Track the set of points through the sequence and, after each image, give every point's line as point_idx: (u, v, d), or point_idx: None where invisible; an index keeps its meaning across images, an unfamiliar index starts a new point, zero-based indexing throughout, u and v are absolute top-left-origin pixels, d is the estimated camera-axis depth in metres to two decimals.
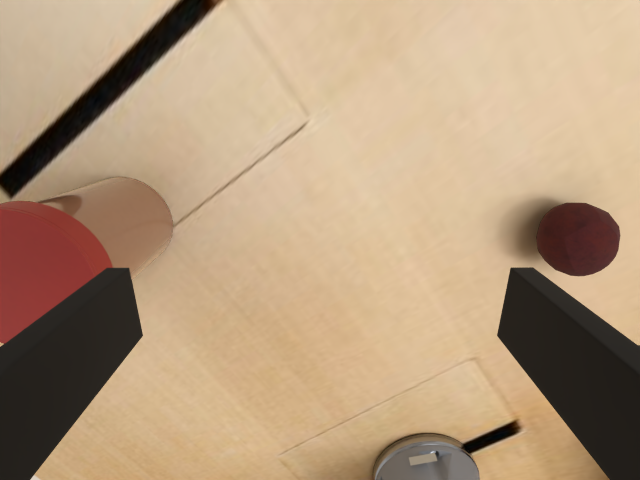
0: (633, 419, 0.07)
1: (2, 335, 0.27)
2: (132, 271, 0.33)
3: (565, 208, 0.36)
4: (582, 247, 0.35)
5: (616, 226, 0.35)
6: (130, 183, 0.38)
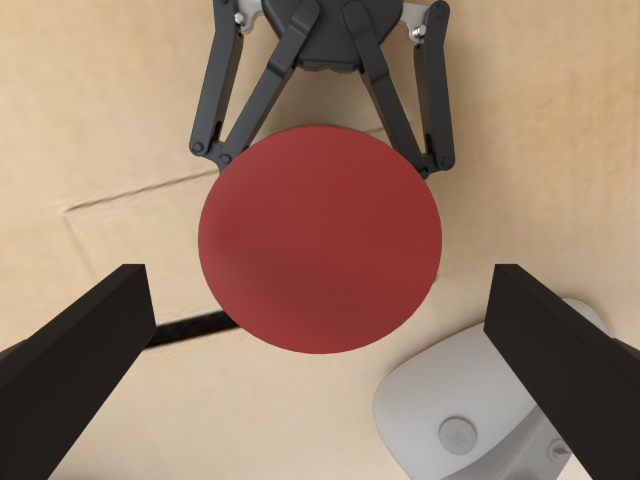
0: (603, 407, 0.08)
1: (409, 188, 0.16)
2: None
3: None
4: None
5: None
6: None
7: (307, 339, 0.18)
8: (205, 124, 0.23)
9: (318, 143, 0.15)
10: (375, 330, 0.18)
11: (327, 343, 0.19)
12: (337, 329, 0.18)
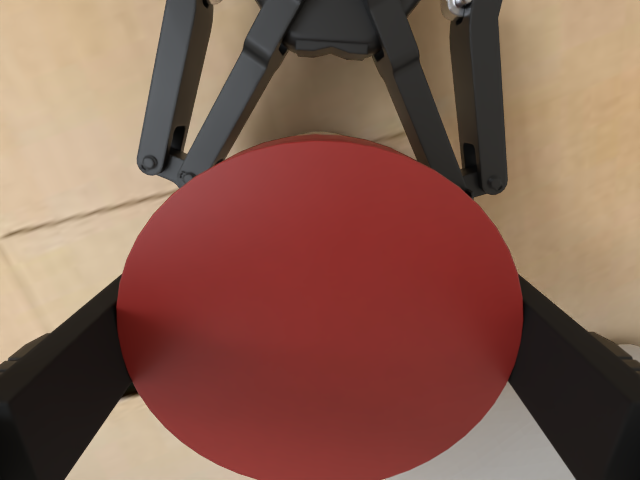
0: (577, 398, 0.08)
1: (473, 246, 0.09)
2: None
3: None
4: None
5: None
6: None
7: (300, 468, 0.12)
8: (158, 131, 0.16)
9: (317, 170, 0.08)
10: (407, 456, 0.12)
11: (331, 474, 0.12)
12: (347, 455, 0.12)
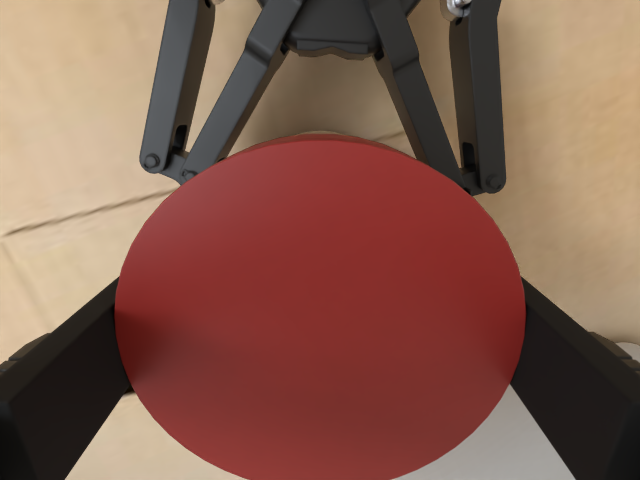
0: (577, 397, 0.08)
1: (187, 220, 0.09)
2: None
3: None
4: None
5: None
6: None
7: (488, 362, 0.10)
8: (160, 129, 0.16)
9: (144, 357, 0.10)
10: (482, 249, 0.09)
11: (501, 330, 0.10)
12: (472, 316, 0.10)
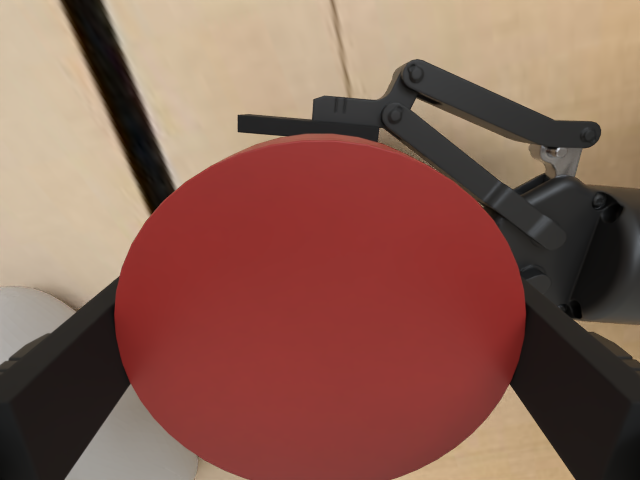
0: (577, 397, 0.08)
1: (188, 220, 0.09)
2: None
3: None
4: None
5: None
6: None
7: (488, 362, 0.10)
8: (445, 90, 0.16)
9: (144, 357, 0.10)
10: (482, 250, 0.09)
11: (501, 331, 0.10)
12: (472, 316, 0.10)
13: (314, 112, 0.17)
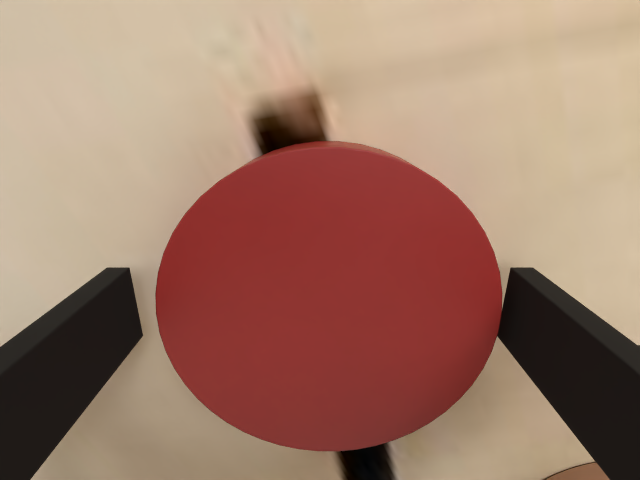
0: (633, 419, 0.07)
1: (219, 212, 0.11)
2: None
3: None
4: None
5: None
6: None
7: (471, 335, 0.12)
8: None
9: (179, 330, 0.12)
10: (463, 238, 0.11)
11: (481, 307, 0.12)
12: (456, 295, 0.11)
13: None
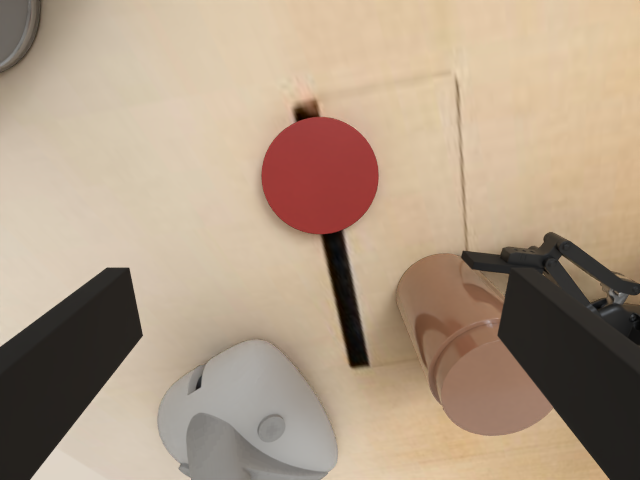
0: (633, 419, 0.07)
1: (285, 138, 0.34)
2: None
3: None
4: None
5: None
6: (417, 270, 0.39)
7: (369, 183, 0.35)
8: (577, 256, 0.32)
9: (268, 181, 0.35)
10: (363, 147, 0.34)
11: (371, 172, 0.35)
12: (362, 167, 0.35)
13: (509, 259, 0.33)
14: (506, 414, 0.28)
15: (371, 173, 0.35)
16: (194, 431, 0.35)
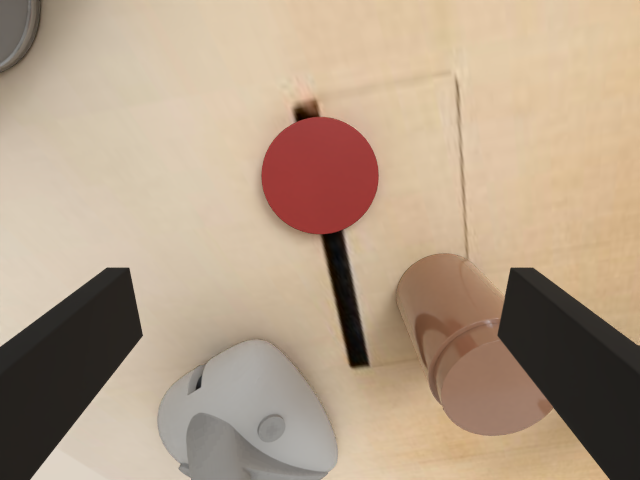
0: (633, 419, 0.07)
1: (285, 138, 0.34)
2: None
3: None
4: None
5: None
6: (417, 270, 0.39)
7: (369, 183, 0.35)
8: None
9: (268, 181, 0.35)
10: (363, 147, 0.34)
11: (371, 172, 0.35)
12: (362, 167, 0.35)
13: None
14: (506, 414, 0.28)
15: (371, 173, 0.35)
16: (194, 431, 0.35)
